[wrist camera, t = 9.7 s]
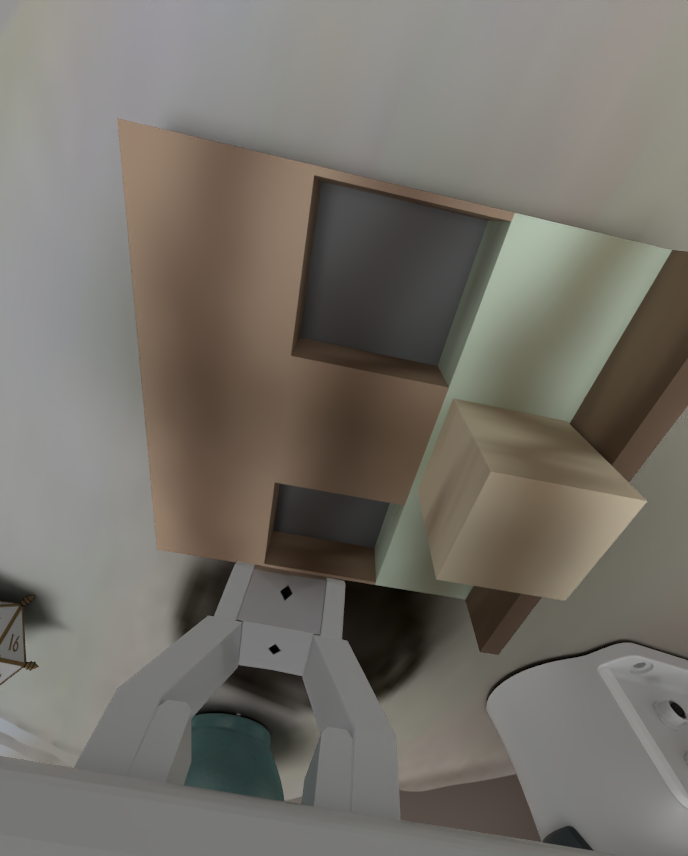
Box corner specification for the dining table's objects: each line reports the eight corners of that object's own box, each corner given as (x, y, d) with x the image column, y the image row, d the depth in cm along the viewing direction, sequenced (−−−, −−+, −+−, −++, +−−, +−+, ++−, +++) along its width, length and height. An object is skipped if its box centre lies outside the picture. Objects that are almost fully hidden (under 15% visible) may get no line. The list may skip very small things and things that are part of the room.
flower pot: (301, 766, 43) (285, 920, 34) (164, 755, 43) (109, 906, 33) (304, 699, 35) (283, 878, 25) (134, 686, 35) (50, 861, 25)
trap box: (640, 249, 15) (792, 267, 10) (468, 560, 24) (498, 654, 19) (164, 136, 13) (41, 88, 8) (179, 511, 23) (127, 598, 18)
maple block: (566, 421, 15) (647, 501, 11) (515, 508, 18) (565, 600, 14) (453, 398, 15) (490, 471, 11) (417, 490, 18) (436, 579, 13)
